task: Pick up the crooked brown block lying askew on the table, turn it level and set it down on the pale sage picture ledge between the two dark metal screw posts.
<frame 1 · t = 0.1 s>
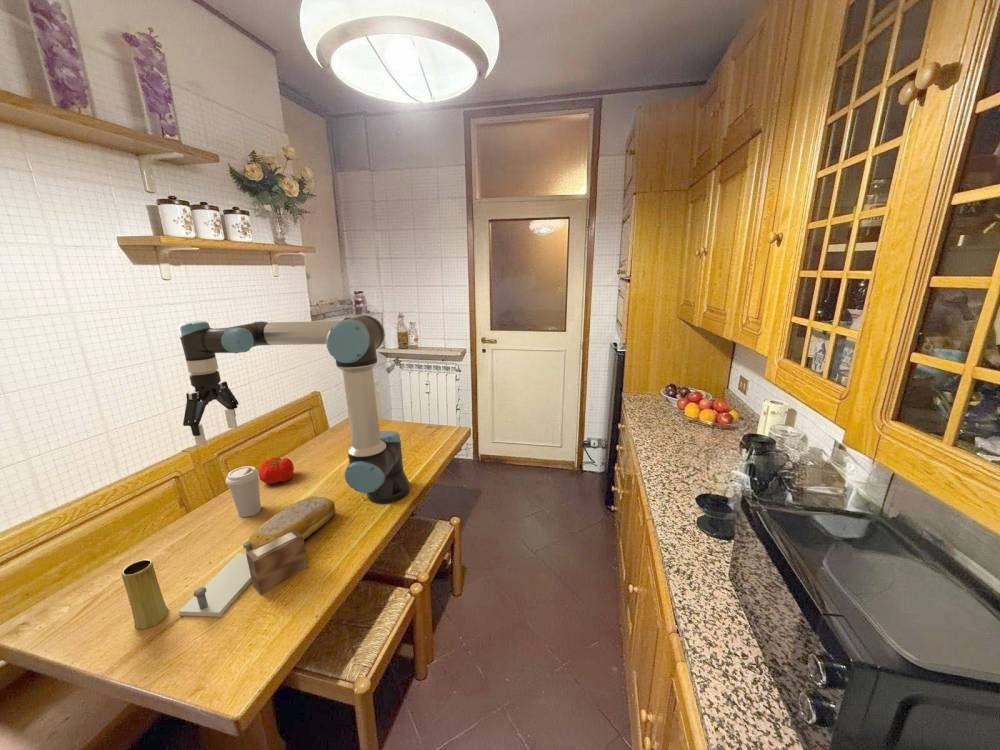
hand: (218, 435, 129), 28 cm above the table, fingers open, 13 cm apart
bread: (296, 535, 123), on the table, touching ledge
coffee cup: (250, 512, 136), on the table
vase: (152, 619, 94), on the table
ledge: (230, 583, 104), on the table
tomato: (278, 480, 156), on the table
brown block: (281, 576, 106), on the table
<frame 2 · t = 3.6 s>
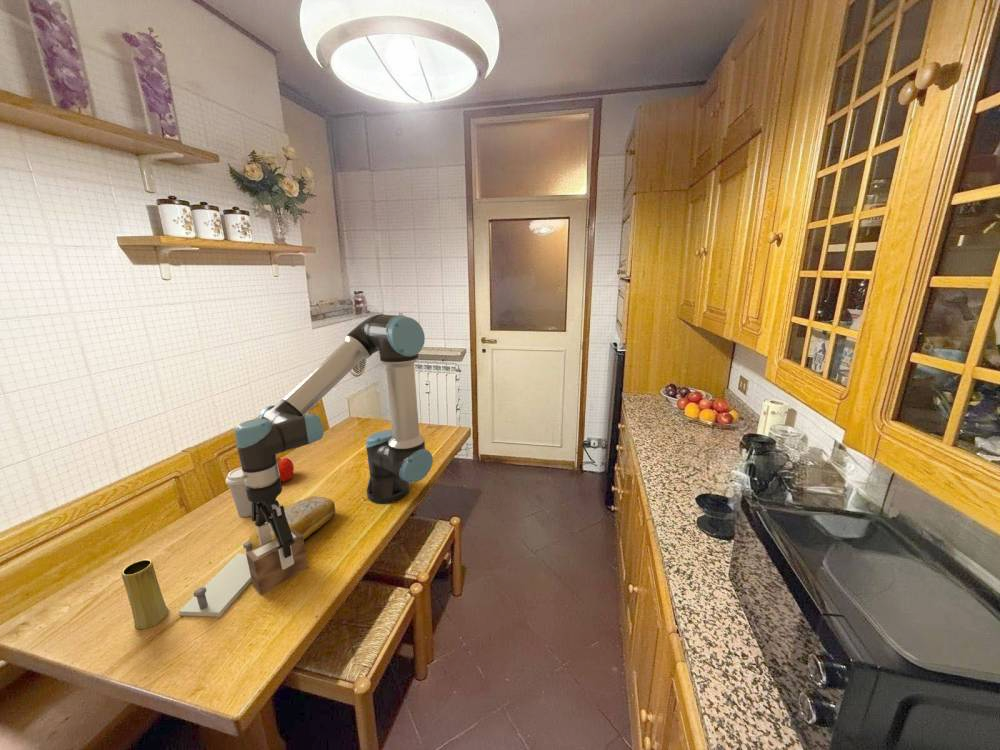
hand: (277, 556, 104), 6 cm above the table, fingers open, 12 cm apart
bread: (296, 535, 123), on the table, touching gripper, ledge
everything else where it was.
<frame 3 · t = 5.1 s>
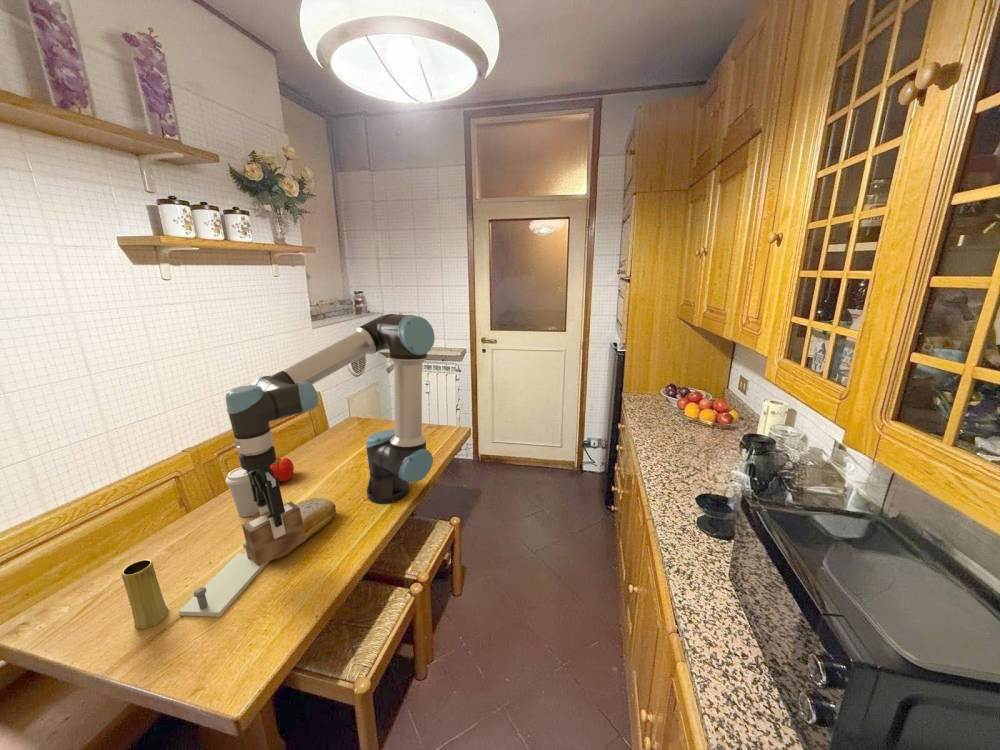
hand: (274, 531, 103), 14 cm above the table, fingers closed on brown block, 5 cm apart
bread: (296, 536, 123), on the table, touching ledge
brown block: (279, 548, 104), point 8 cm above the table, touching gripper
everything else where it was.
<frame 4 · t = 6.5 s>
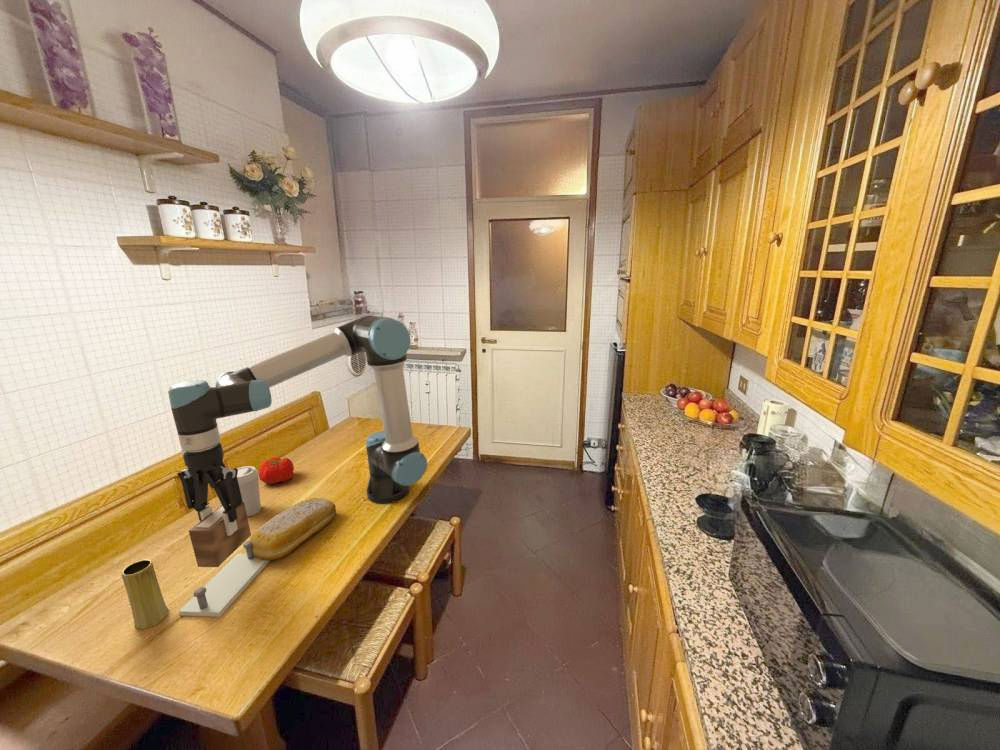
hand: (221, 531, 100), 16 cm above the table, fingers closed on brown block, 5 cm apart
brown block: (226, 550, 101), point 10 cm above the table, touching gripper
everything else where it was.
when the fingers open (8 cm above the table, at t = 8.0 s): brown block drops 1 cm, resting on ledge.
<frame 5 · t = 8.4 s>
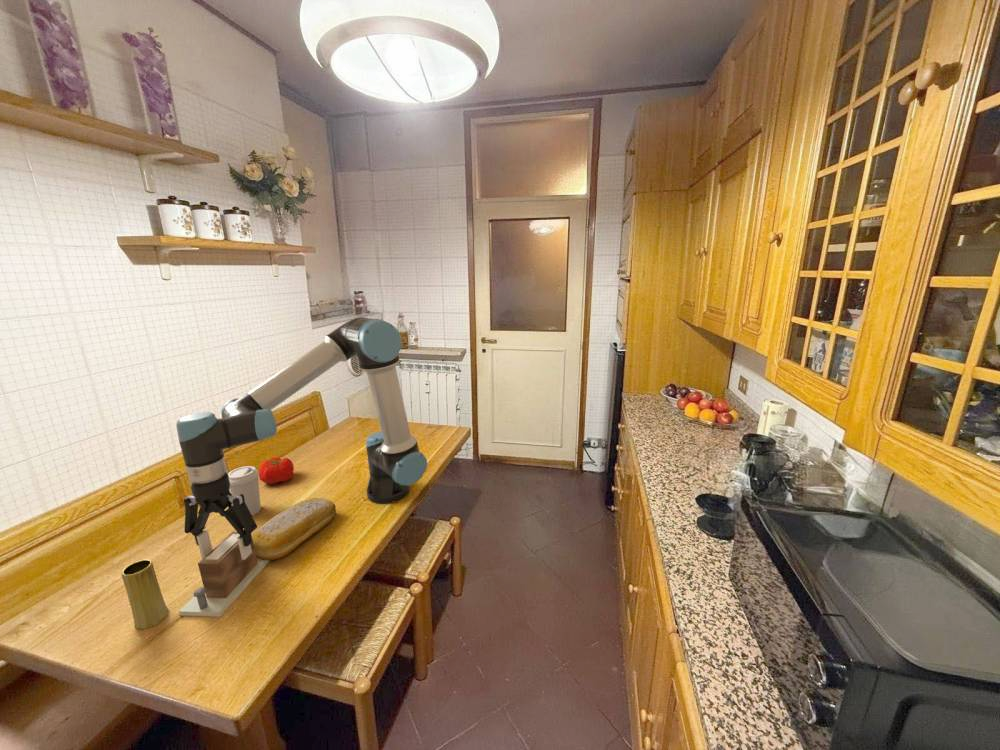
hand: (227, 555, 101), 9 cm above the table, fingers open, 10 cm apart
brown block: (233, 579, 103), point 1 cm above the table, touching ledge
everything else where it was.
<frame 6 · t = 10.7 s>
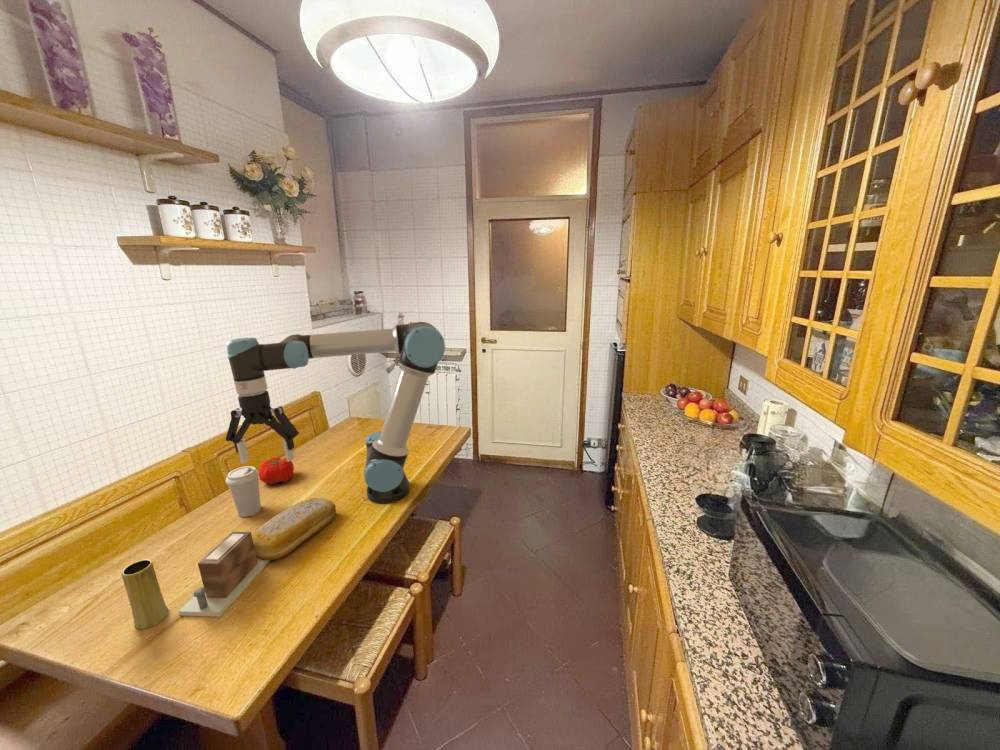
hand: (267, 460, 119), 24 cm above the table, fingers open, 13 cm apart
nothing on the table moved.
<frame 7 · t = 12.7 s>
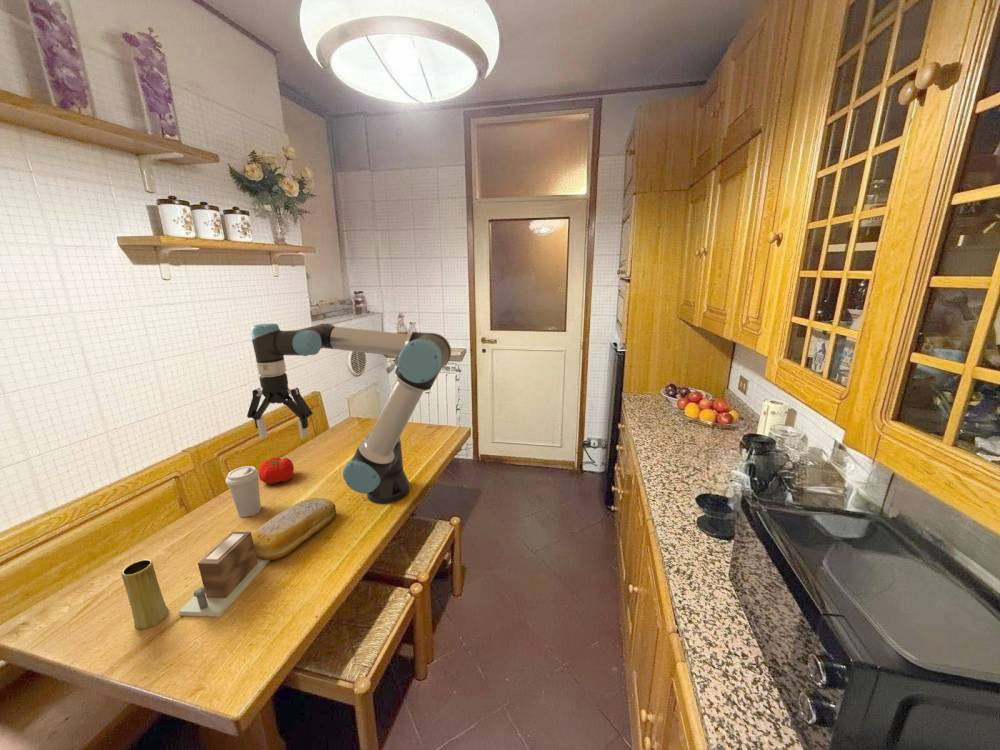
hand: (284, 437, 129), 27 cm above the table, fingers open, 13 cm apart
nothing on the table moved.
at the end: brown block inside the target area on the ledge (0.5 cm from its centre), point 1.2 cm above the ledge's base; brown block tilted 0°; the gripper is holding nothing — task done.
